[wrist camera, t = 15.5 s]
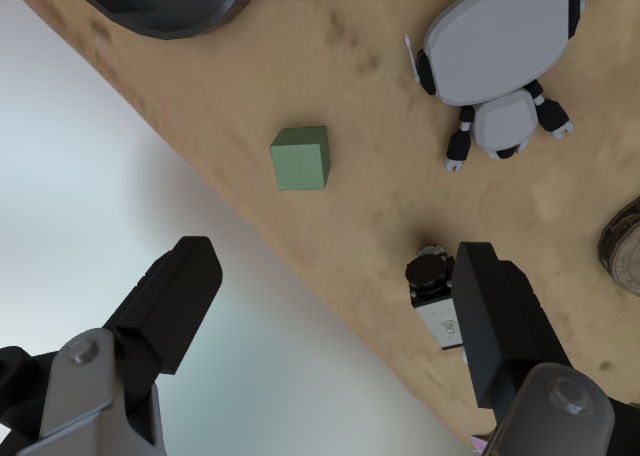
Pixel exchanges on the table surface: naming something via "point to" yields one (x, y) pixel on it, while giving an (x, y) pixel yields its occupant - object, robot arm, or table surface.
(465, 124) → the robot toy
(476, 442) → the lily
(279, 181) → the cube
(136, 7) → the pan
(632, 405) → the eiffel tower
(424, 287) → the pneumatic valve
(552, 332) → the robot arm
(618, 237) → the wood log slice
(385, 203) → the table surface
